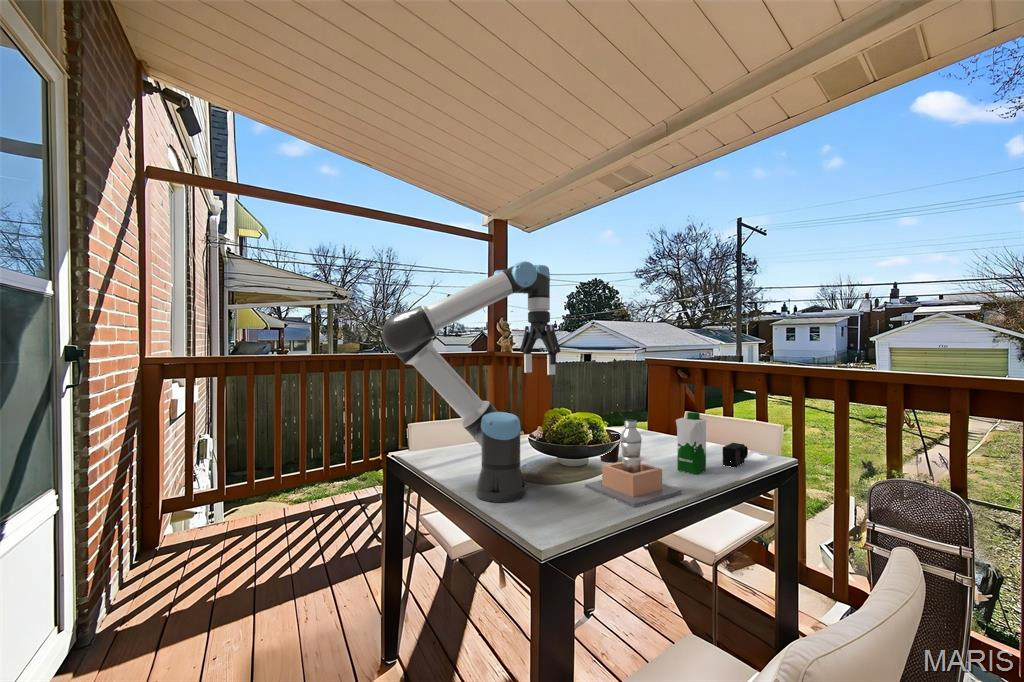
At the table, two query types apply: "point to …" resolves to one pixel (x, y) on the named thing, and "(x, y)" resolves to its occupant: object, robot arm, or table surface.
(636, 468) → the silver bottle
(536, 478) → the table surface
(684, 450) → the milk carton
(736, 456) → the digital camera
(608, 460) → the coffee mug
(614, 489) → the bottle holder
